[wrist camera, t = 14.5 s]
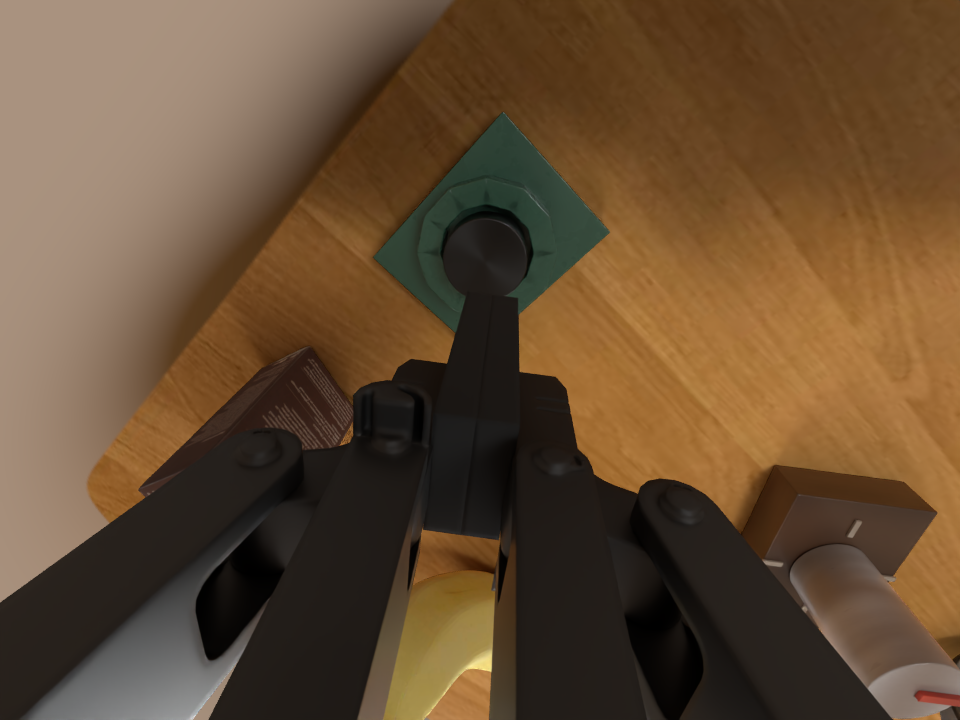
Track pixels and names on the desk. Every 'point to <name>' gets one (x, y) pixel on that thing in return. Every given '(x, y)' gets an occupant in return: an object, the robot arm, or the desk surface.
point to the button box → (499, 188)
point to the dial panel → (834, 520)
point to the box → (271, 412)
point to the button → (486, 254)
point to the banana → (441, 640)
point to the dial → (876, 632)
